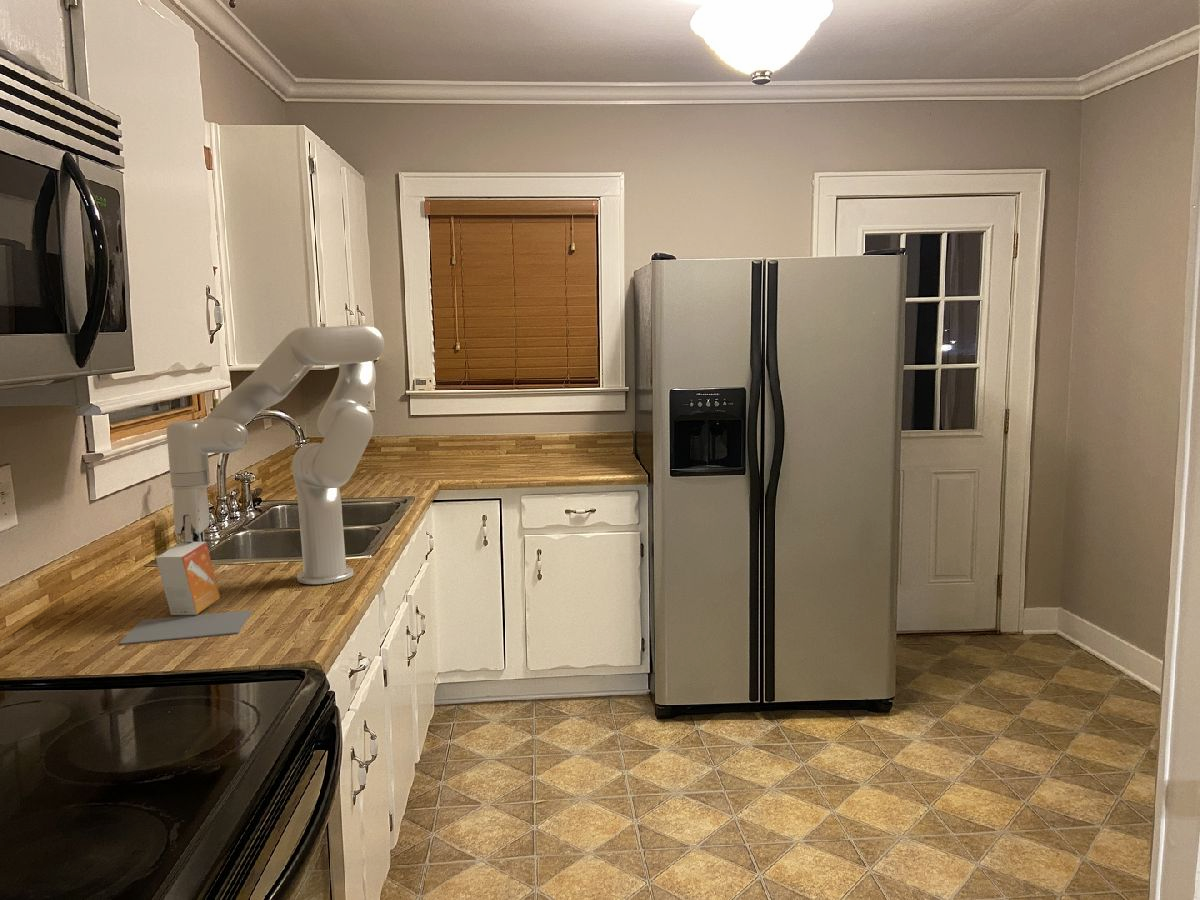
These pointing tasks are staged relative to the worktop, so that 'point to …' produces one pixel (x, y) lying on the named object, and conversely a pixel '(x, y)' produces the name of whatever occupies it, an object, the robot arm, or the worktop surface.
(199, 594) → the small box
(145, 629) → the mat
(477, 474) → the worktop surface
